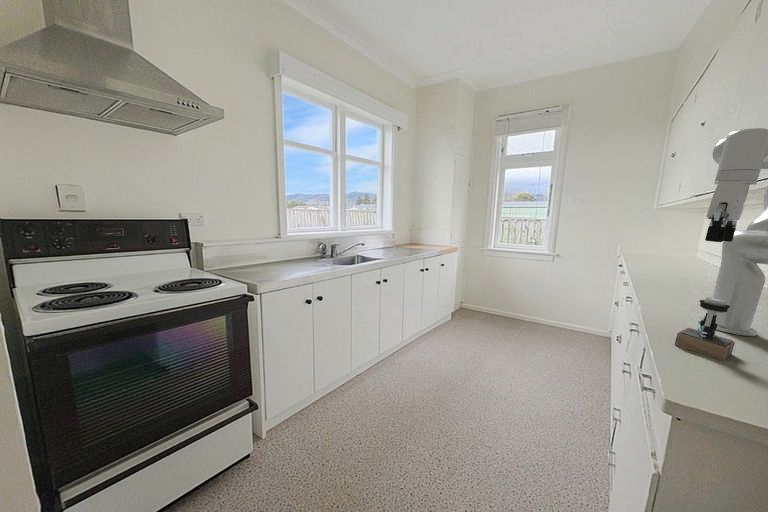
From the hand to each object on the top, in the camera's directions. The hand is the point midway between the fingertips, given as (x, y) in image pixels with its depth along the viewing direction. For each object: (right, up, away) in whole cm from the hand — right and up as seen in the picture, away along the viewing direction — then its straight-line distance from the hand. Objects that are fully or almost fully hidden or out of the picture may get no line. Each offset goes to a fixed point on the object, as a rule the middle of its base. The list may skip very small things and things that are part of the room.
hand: (718, 241), depth 83 cm
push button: (-9, -26, -5) cm, 28 cm away
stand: (-9, -29, -4) cm, 31 cm away
